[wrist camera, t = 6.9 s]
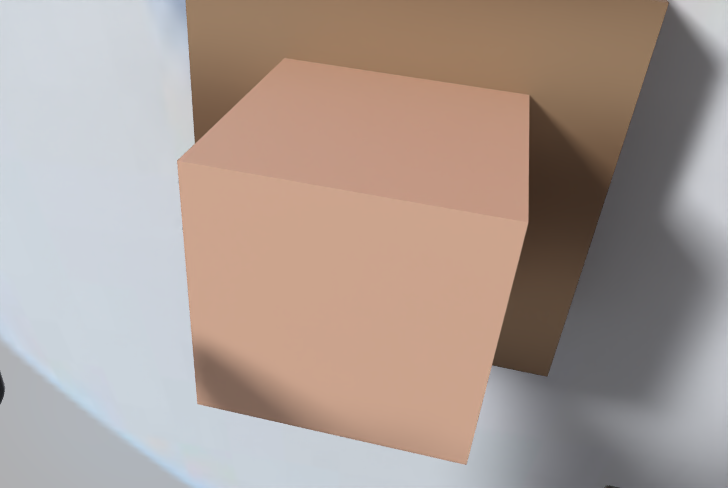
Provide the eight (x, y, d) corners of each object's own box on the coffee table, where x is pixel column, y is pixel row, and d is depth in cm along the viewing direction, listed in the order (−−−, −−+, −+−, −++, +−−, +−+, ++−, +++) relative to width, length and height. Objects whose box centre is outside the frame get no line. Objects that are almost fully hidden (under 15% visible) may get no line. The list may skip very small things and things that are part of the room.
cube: (483, 296, 17) (466, 464, 13) (281, 257, 18) (197, 404, 13) (529, 95, 14) (528, 222, 10) (284, 57, 15) (177, 161, 10)
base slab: (545, 310, 21) (547, 376, 18) (242, 251, 22) (205, 305, 20) (646, -27, 15) (669, 3, 13) (233, -78, 17) (181, -61, 14)
